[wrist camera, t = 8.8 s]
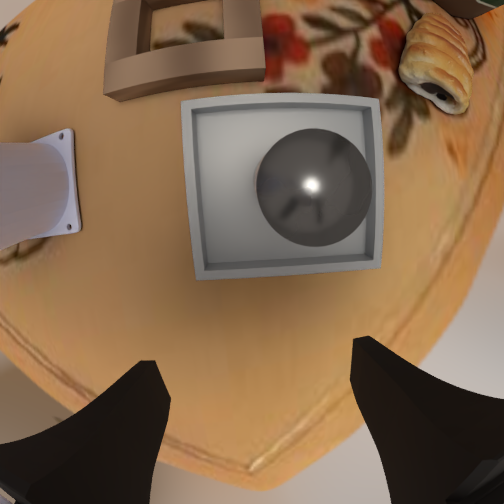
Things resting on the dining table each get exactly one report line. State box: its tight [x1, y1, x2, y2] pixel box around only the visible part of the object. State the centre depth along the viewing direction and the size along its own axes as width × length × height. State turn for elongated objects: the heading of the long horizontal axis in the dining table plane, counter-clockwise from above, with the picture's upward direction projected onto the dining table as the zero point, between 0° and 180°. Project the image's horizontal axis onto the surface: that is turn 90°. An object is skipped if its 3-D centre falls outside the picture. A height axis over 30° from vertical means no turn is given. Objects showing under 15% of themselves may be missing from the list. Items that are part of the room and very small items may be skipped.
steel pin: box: [253, 128, 372, 247], centre depth 13 cm, size 4×4×8 cm
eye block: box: [103, 0, 266, 102], centre depth 13 cm, size 10×10×2 cm
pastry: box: [399, 13, 474, 114], centre depth 13 cm, size 9×7×4 cm
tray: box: [181, 93, 384, 280], centre depth 17 cm, size 12×11×2 cm
